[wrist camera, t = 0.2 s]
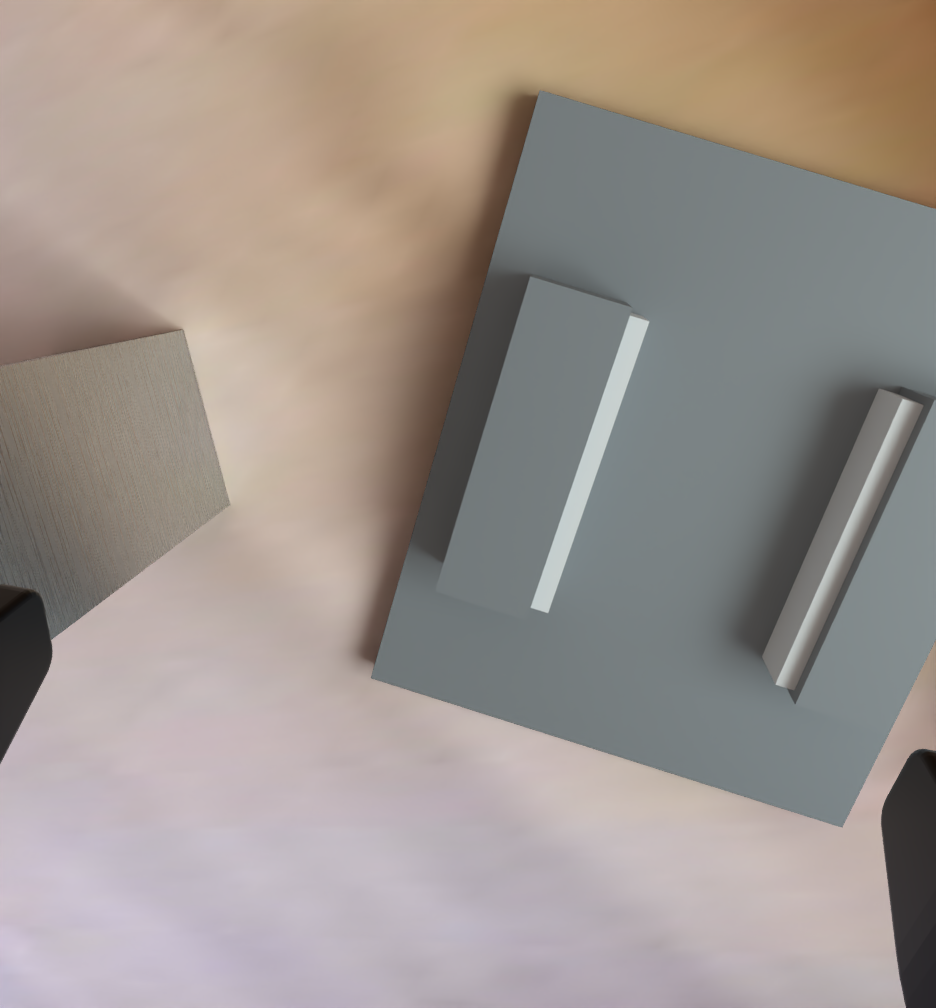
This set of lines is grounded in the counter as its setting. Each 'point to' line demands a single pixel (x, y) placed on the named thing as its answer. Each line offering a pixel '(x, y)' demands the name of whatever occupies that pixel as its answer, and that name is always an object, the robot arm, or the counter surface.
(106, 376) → the steel block
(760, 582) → the stepped grey baseplate
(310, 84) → the counter surface
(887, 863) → the robot arm
